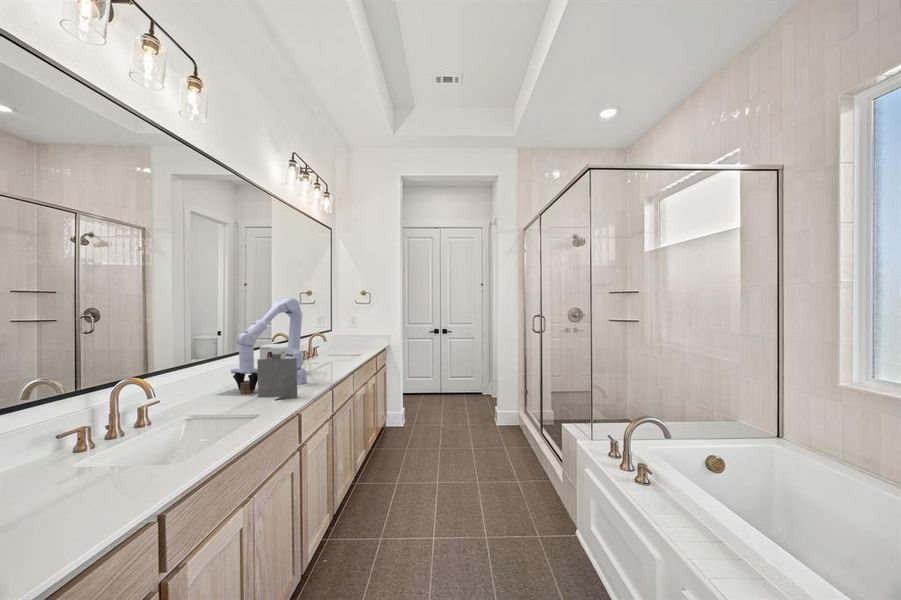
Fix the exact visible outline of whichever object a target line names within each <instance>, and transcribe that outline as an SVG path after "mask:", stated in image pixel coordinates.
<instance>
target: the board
mask: <svg viewBox="0 0 901 600" xmlns="http://www.w3.org/2000/svg"><path fill="white" fill-rule="evenodd" d="M256 395H258V388H255V390H254V393H251V394H240V390H239V388H233V389H229V390H226V391H223V392H221V393H220V392H219V393H217V394H216V396H231V397H233V396H234V397H253V396H256Z"/></svg>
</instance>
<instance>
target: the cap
mask: <svg viewBox="0 0 901 600" xmlns="http://www.w3.org/2000/svg"><path fill="white" fill-rule="evenodd" d="M251 393H254V390H251V389H250V380H244V381H242V382H240V394H251Z"/></svg>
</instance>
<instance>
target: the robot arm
mask: <svg viewBox="0 0 901 600" xmlns="http://www.w3.org/2000/svg"><path fill="white" fill-rule="evenodd" d="M300 306H301V303H300V302H299V300H297V299H296V298H294V297H290V298H284V297H283V298H279V299H278V300H277V301H276V302H275V303H274V304H273V305H272V307H270V309H268V311H267V312H266V313H265V314H264V315H263V316H262V317H261V319H257V320H254V321H252V322H251V325H250V326H249V327H247V329H245V330H244V332H242V333H239V335H238V336H237V337H236V340H235V341H236V344H238V352H239V353H238V354H239V355H238V359H239V361H238V362H239V365H238V368H232V369H230V374H231V375H232V374H233V375H232V378H233V379H234V380H235V382H236V384H237V389H239V390H240V382H242V381H245V377H246V375H248V374H249V375H248V376H247V377H248V381H250V389H251V390H255V389H257V385H258V368H255V357H254V356H255V355H254V349H255V348H254V344H256V342H257V338H259V336H261V335H262V334H263V332H265V330H266V329H267V325H268V324H269V323H270V322H271V321H272V320H273V319H274V318H276V316H278V315H279V314H282V313H284V314H286V315H287V316H288V317H289V327H288V329H289V330H288V340H287V344H288V349H287V350H286V351H285V355H284V357H283V358H297V386H301V385H304V384H305V385H306V384H308V383H307V382H308V381H307V377H308V376H307V375H308V373H307V370H306V369H305V368H302V367H303V365H304V364H305V363H304V362H305V361H304V357H303V352H302V351H301V349H300V347H301V334H302V333H301V332H302V323H303V311H302V310H301V307H300Z"/></svg>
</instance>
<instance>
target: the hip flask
mask: <svg viewBox="0 0 901 600" xmlns="http://www.w3.org/2000/svg"><path fill="white" fill-rule="evenodd" d="M280 355H281V353H273V354H272V356H273V358H265V359H260V358H259V359H257V361H256V362H257V363H256V364H257V369H258V381H257V389H258V394H257V397H258V398H276V397H277V398H276V399H274V401H282V400H283V401H284V400H286V401H287V400H293V399H294V400H295V399H297V398H298V385H297V358H281V356H280Z"/></svg>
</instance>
